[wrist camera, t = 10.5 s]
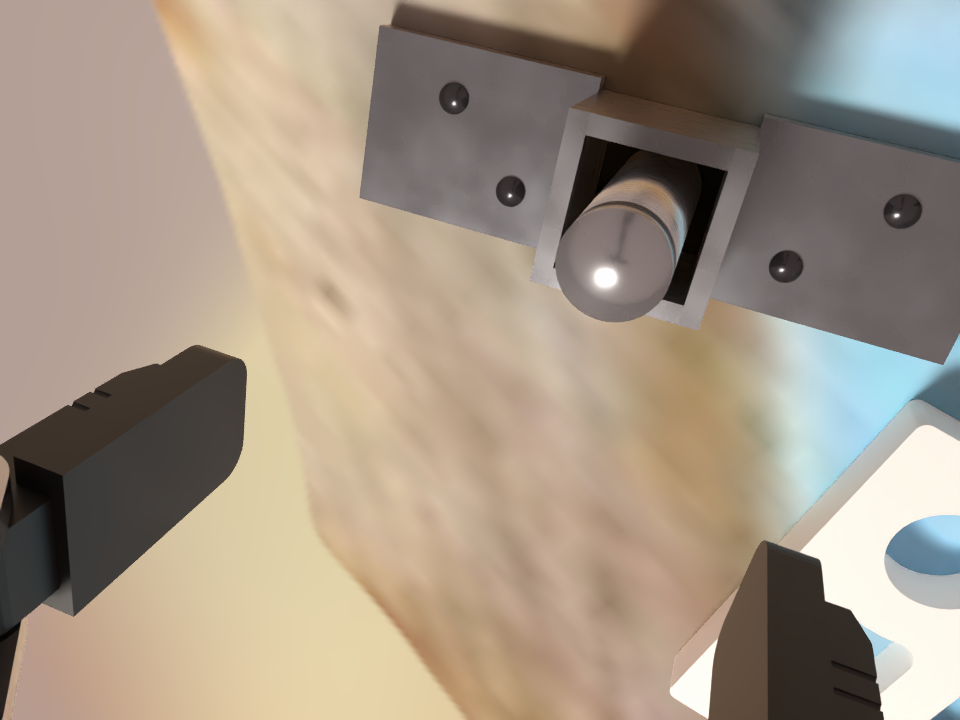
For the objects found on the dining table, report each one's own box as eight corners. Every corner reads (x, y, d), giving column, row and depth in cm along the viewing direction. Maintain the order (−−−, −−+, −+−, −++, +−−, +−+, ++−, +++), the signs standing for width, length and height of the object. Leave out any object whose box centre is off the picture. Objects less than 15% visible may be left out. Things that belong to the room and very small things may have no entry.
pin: (630, 135, 31) (570, 195, 21) (712, 156, 30) (688, 227, 21) (609, 214, 32) (544, 303, 23) (687, 235, 32) (653, 336, 22)
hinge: (390, 24, 32) (317, 29, 27) (1028, 175, 27) (1091, 216, 22) (369, 193, 35) (301, 226, 30) (938, 354, 30) (973, 427, 25)
